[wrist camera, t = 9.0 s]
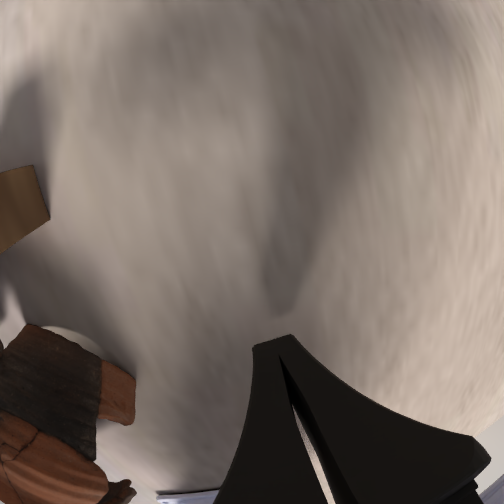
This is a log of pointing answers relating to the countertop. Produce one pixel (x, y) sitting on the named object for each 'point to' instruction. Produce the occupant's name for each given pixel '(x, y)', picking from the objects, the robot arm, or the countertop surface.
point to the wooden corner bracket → (20, 205)
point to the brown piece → (58, 420)
